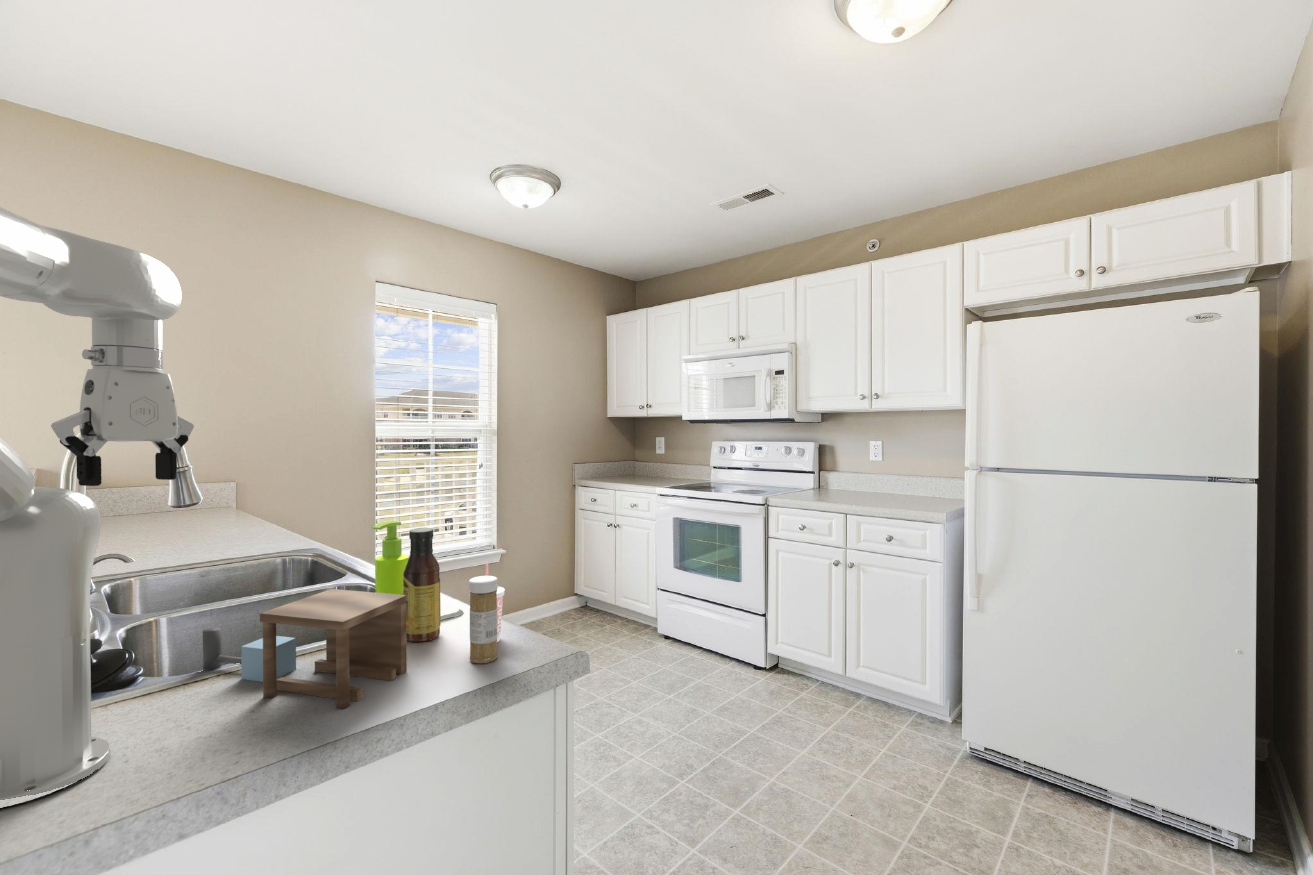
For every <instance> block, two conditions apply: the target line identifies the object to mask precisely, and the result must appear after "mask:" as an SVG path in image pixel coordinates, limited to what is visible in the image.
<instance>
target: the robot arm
mask: <svg viewBox="0 0 1313 875" xmlns="http://www.w3.org/2000/svg"><path fill="white" fill-rule="evenodd" d="M0 297H2V298H5V299H9V300H15V301H21V302H28V303H38V304H42V305H44V306H45V307H47V308H48V309H50V310H52V311H53V312H56V313H58V314H61V315H65V316H70V317H82V318H90V319H91V346H90V349H83V350H82V352H81V355H82V356H81V357H82V358H83V359H84V360H89V361H90V362H91V363H90V365H91V366H92V368H90V369H87V370H86V374H85V377H84V379H83V380H84V381H83V384H82V389H81V395H80V404H79V411H78V412H76V413H73V414H71V415H68V416H66V417H64V418H63V417H62V418H61V419H59V420H56V421H54V422H52V423H51V424H50V427H51V429H52V430H53V432H54V435H56V437H57V438H58V439H59V443H60V445H62V446H63V447H64V448H66V449H67V450H69V452H70V454H71V455H72V456H74V457H76V478H77V480H78V485H79V486H80V487H81V486H85V487H98V486H99V487H100V485H102V457H101V455H96V454H97V453H99V451H100V450H101V448H103V447H104V445H106V443H107V442H115V443H116V442H121V443H122V442H151V443H152V444H153V445H154V446H155V447H156V448H157V449H158V451H159V452H156V453H155V455H154V456H155V458H154V460H155V479H156V480H165V481H169V480H170V481H171V480H172V481H174V480H176V479H177V471H178V468H177V467H178V466H177V465H178V464H177V463H178V462H177V461H178V460H177V457H178V456H177V454H178V453H180V452H182V448H183V447H184V446H185V444H187V442H188V441H189V437H190V435H191V434H192V432H193V429H194V428H195V424H194V423H192V422H190V421H188V420H186V419H184V418H182V417H180V416H178V408H177V401H176V395H175V390H174V385H173V382H172V379H171V376H170V374H169V373H164V345H163V344H164V341H163V340H164V334H163V333H164V332H163V329H164V328H163V324H164V323H163V321H164V320H168V319H170V318H171V317H173V316H174V315H175V314H177V313H178V311H179V309H180V307H181V304H182V297H183V295H182V288H181V285H180V282H179V280H178V278H177V276H176V275H175V274H174V272H173V271H171V269H170V268H169V267H168V266H167V265H165V264H164V263H163V262H161V261H160V260H158V259H156V258H153V257H152V256H150V255H149V254H146V253H143V252H142V251H138V250H135V249H131V248H129V247H125V246H121V245H119V244H113V243H110V242H106V241H101V240H98V239H96V238H95V239H94V238H91V237H86V236H84V235H80V234H76V233H73V232H70V231H66V230H63V229H58V228H53V227H49V226H45V225H41V224H38V223H36V222H34V221H32V220H29V219H27V218H25V217H22V216H21V215H17V214H16V213H13V212H11V211H10V210H7V209H5V208H3V207H1V206H0ZM77 426H79V433H80V436H81V437H82V438H79V437H78V436H76V435H75V432H74V428H75V427H77ZM101 518H102V517H101V513H100V510H99V508H98V505H97V504H96V503H95V502H94V501H93V499H92V498H90V497H89V496H87V495H85V494H83V493H82V492H79V491H76V490H72V489H68V488H60V487H52V486H36V483H35V477H34V474H33V472H32V470H31V469H30V466H29V465H28V464H27V462H26V461H25V460H24V459H23V458H22V457H21V456H20V455H19V454H18V452H17V451H16V450H15V449H14V448H12V446H11V445H10V444H8V443H7V442H6V441H5V440H4V438H2V437H1V436H0V800H5V799H11V798H16V797H22V796H26V795H28V796H29V795H36V794H39V793H43V792H47V791H51V790H53V789H56V788H60V787H64V786H65V785H69V784H71V783H74V782H76V781H78V780H80V779H82V780H84V779H86V778H88V777H90V776H91V775H93V774H94V773H95V772H96V771H95V770H97V769H98V770H99V769H100V768H102V767H103V766H104V765H105V764H106V763H107V762H108V760H109V758H110V755H111V745H110V742H109V741H107V740H106V739H103V738H100V737H94V736H92V687H91V686H92V684H91V683H92V680H91V675H92V674H91V673H92V672H91V670H92V669H91V589H92V588H91V587H92V574H93V567H94V561H95V558H96V557H95V556H96V552H97V549H98V548H97V547H98V544H99V540H100V534H101V527H102V520H101ZM98 770H97V771H98ZM94 771H95V772H94ZM93 772H94V773H93ZM90 774H91V775H90ZM87 776H88V777H87ZM85 777H86V778H85ZM83 778H84V779H83ZM27 790H28V791H27ZM29 790H30V791H29Z"/></svg>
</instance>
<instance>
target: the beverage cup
mask: <svg viewBox="0 0 1313 875" xmlns="http://www.w3.org/2000/svg"><path fill="white" fill-rule="evenodd" d="M485 576H489V562H485ZM468 592H469V595H470V591H468ZM504 595H505V588H504V587H502V586H498V589H497V643H499V641H501V634H502V631H501V630H502V619H503V616H502V615H503V604H504V603H503V601H504Z"/></svg>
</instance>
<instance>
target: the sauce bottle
mask: <svg viewBox="0 0 1313 875" xmlns="http://www.w3.org/2000/svg"><path fill="white" fill-rule="evenodd" d="M408 536H409V539H410V545H409V546H410V551H409V555H408V557H409V559H408V562H407V565H406V568H405V570H404V573H403V595H406V641H408V642H415V643H419V642H421V643H422V642H429V641H432V640H434V639H436V638H438V637H439V636H440V634H441V618H442V617H441V615H442V614H441V578H440V564H439V562H438V560H437V558H436V557H435V556H434V554H433V553H434V552H433V551H434V549H433V538H434V528H431V527H417V528H412V529H410V530H409V534H408Z"/></svg>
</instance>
